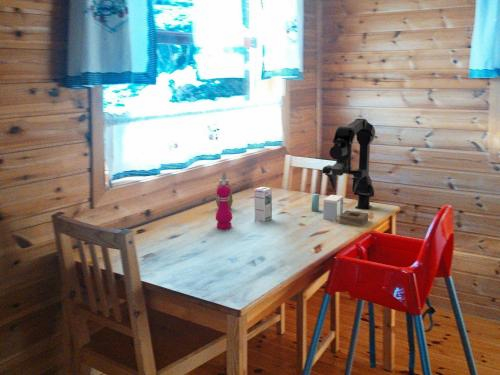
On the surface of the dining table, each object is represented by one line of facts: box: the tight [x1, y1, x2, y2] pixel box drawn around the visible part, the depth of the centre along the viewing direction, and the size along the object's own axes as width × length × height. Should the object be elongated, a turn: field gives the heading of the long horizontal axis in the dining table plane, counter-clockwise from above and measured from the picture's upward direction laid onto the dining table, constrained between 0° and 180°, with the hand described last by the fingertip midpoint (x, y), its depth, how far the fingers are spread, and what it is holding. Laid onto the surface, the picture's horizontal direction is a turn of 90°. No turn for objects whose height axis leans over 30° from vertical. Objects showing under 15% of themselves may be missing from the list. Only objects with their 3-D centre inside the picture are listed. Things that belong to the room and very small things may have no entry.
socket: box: [339, 210, 369, 227], centre depth 247 cm, size 10×10×4 cm
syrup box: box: [253, 186, 273, 222], centre depth 250 cm, size 6×6×14 cm
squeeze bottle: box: [215, 171, 234, 210], centre depth 267 cm, size 8×8×18 cm
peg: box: [311, 193, 320, 213], centre depth 265 cm, size 3×3×8 cm
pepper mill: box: [215, 182, 233, 230], centre depth 238 cm, size 7×7×20 cm
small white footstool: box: [322, 194, 344, 221], centre depth 255 cm, size 10×6×9 cm, turn 153°
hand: (343, 190), depth 245 cm, fingers open, 9 cm apart
